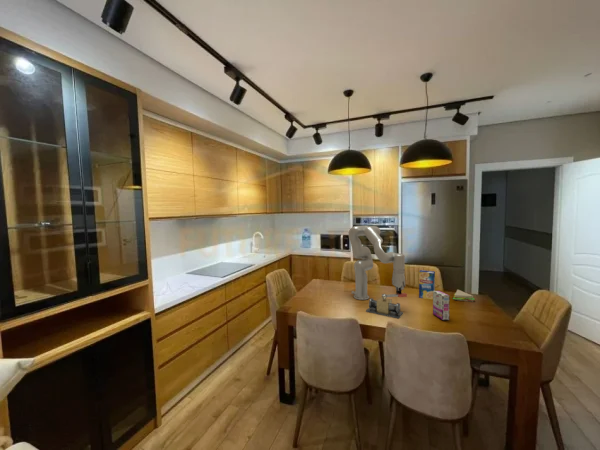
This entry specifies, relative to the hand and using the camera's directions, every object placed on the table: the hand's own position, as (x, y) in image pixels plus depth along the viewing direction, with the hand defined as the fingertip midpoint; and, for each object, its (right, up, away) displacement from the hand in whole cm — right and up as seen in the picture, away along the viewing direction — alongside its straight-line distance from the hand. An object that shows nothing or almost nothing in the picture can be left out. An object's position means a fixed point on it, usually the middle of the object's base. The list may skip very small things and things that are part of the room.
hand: (398, 295), depth 189 cm
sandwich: (+60, -9, +22) cm, 64 cm away
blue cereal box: (+32, -9, +24) cm, 41 cm away
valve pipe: (-12, -11, -4) cm, 17 cm away
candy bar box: (+23, -11, -14) cm, 29 cm away
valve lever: (-5, 0, -4) cm, 6 cm away
